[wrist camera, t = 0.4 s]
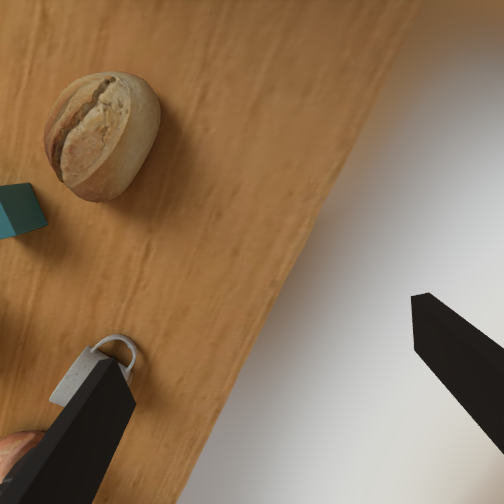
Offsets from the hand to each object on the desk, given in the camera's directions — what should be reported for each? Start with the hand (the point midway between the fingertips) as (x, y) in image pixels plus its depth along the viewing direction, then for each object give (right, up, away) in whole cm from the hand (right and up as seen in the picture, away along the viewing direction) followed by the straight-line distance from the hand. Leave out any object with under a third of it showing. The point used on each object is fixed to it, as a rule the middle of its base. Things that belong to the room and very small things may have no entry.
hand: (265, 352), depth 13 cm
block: (-30, +10, +24) cm, 40 cm away
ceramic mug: (-22, -12, +32) cm, 40 cm away
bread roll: (-17, +18, +22) cm, 33 cm away
